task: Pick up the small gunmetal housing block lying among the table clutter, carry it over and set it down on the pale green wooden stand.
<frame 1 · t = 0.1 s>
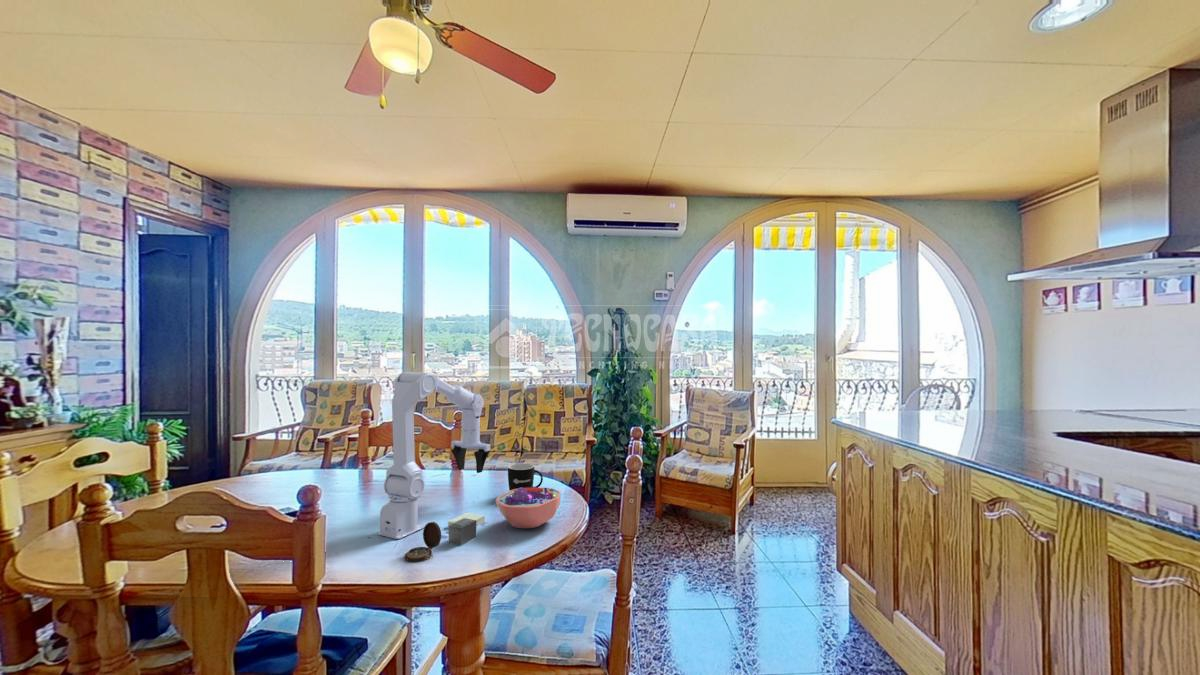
hand: (470, 470, 160), 10 cm above the table, fingers open, 7 cm apart
compass: (423, 557, 119), on the table
mug: (525, 496, 167), on the table
cell model: (529, 525, 140), on the table
housing: (462, 540, 129), on the table
stand: (466, 524, 139), on the table
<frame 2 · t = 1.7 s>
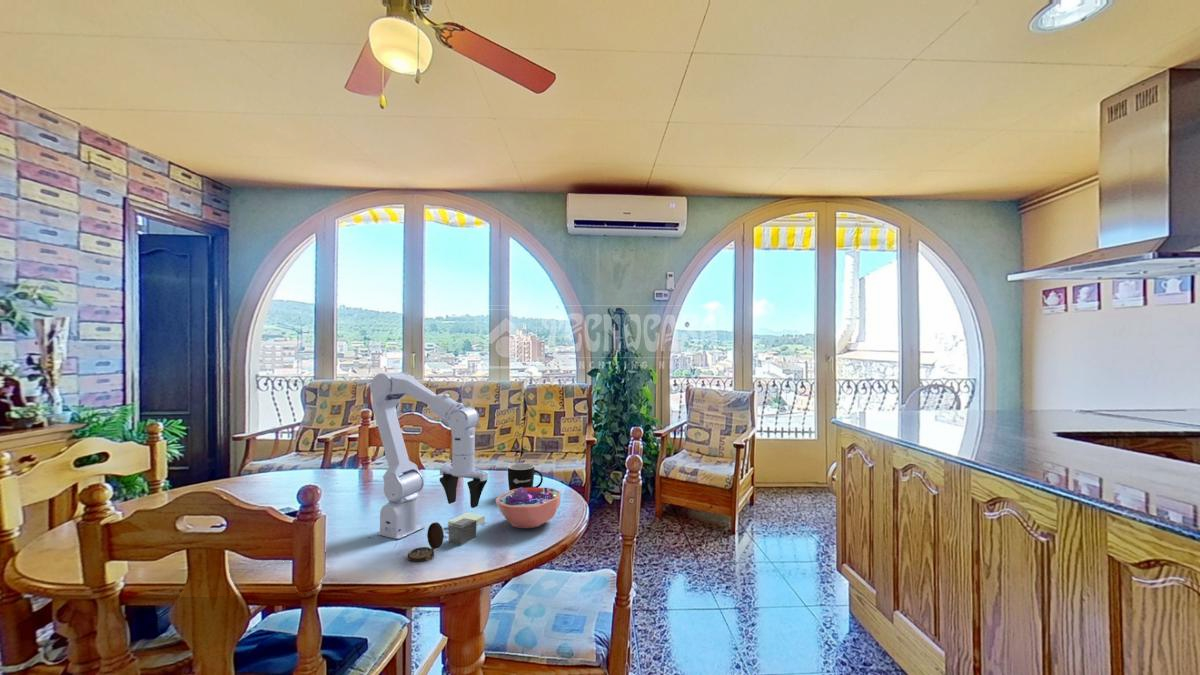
hand: (463, 504, 129), 9 cm above the table, fingers open, 7 cm apart
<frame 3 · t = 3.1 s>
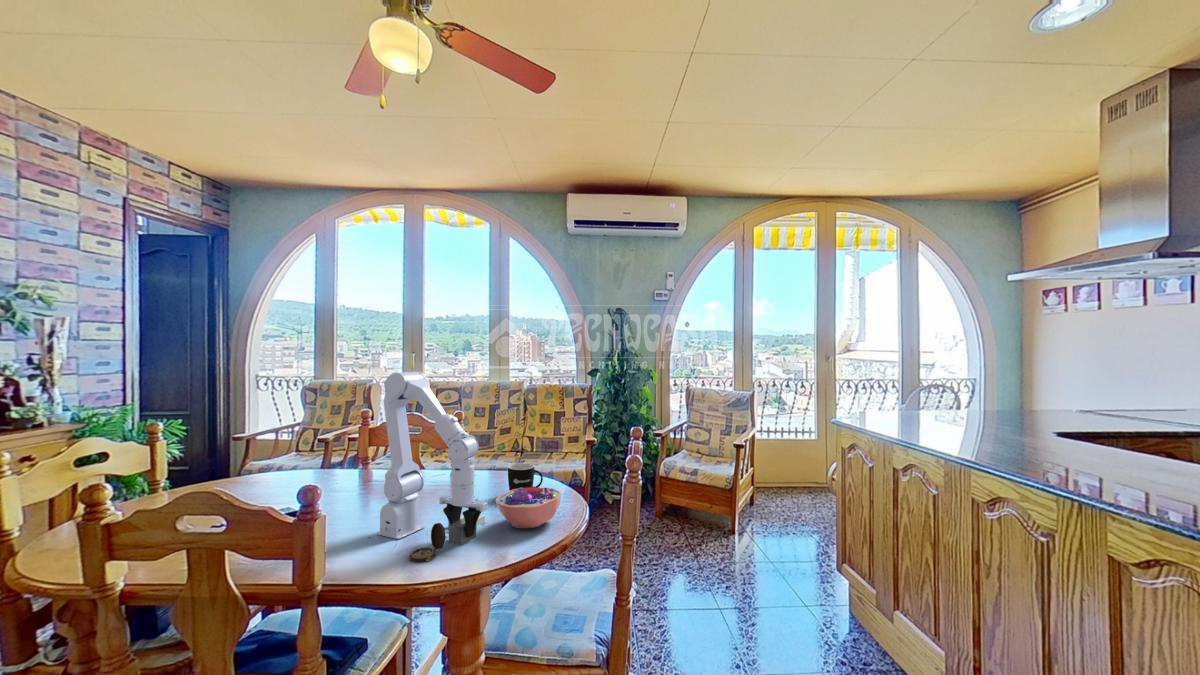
hand: (462, 534, 129), 1 cm above the table, fingers closed on housing, 4 cm apart
housing: (462, 539, 129), on the table, touching gripper
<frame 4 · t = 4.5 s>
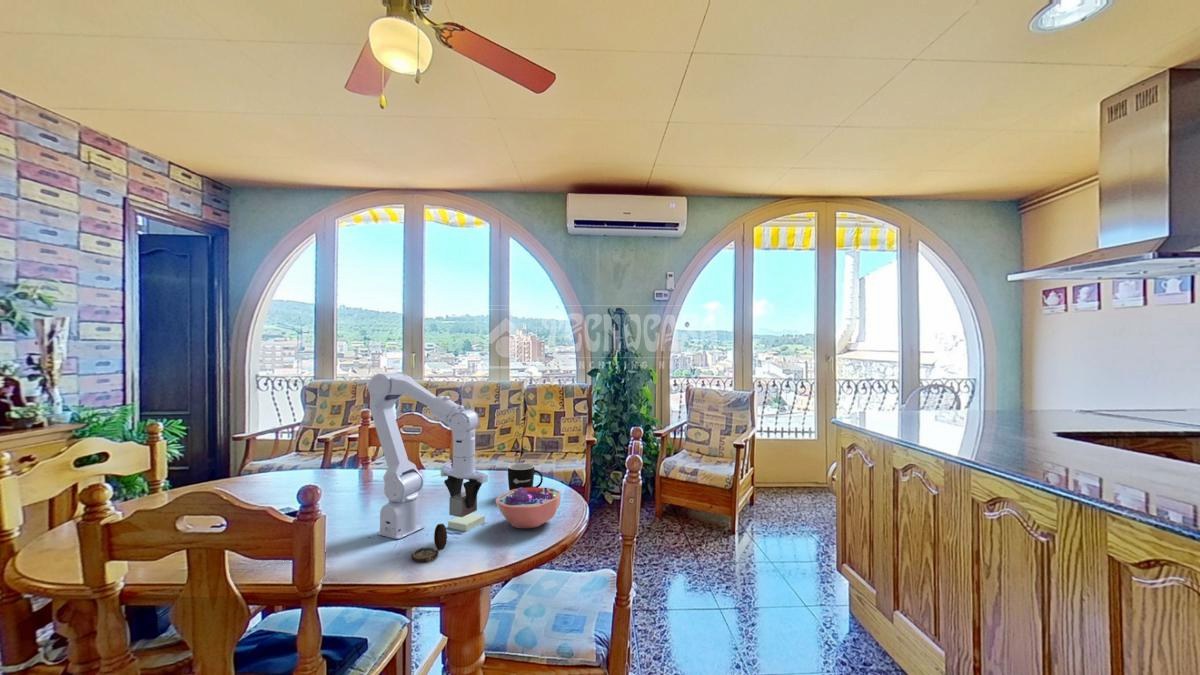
hand: (463, 506, 131), 8 cm above the table, fingers closed on housing, 4 cm apart
housing: (463, 512, 131), point 7 cm above the table, touching gripper
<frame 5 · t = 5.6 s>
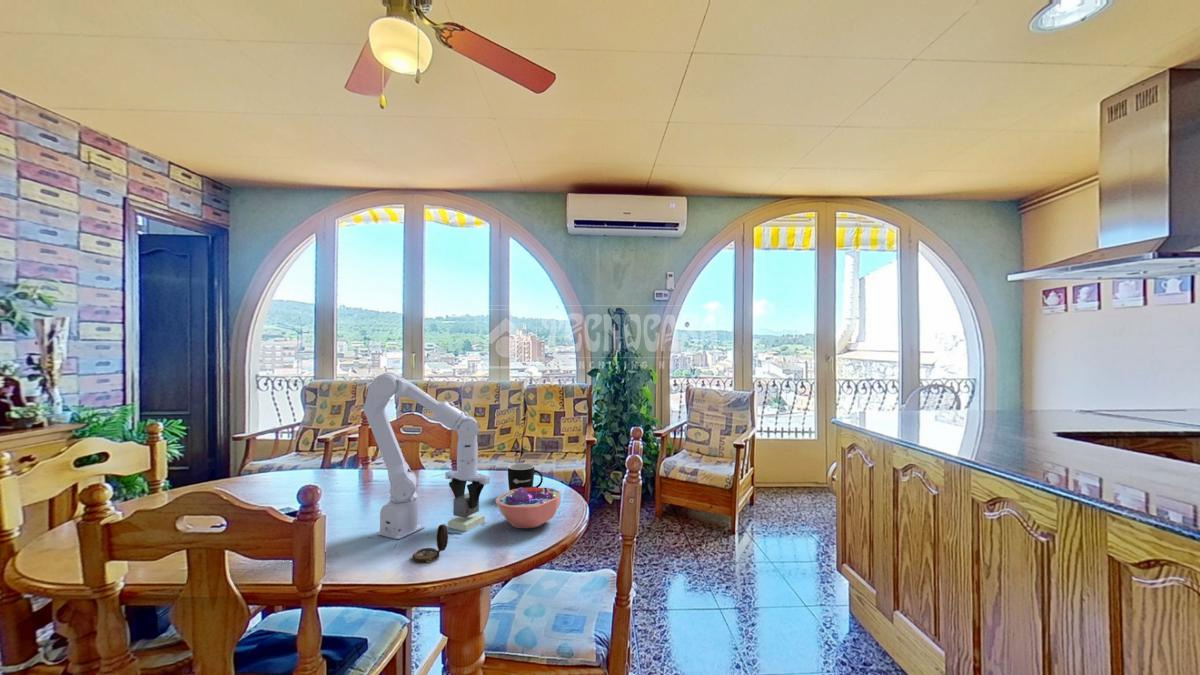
hand: (466, 506, 140), 5 cm above the table, fingers closed on housing, 4 cm apart
housing: (466, 513, 139), point 3 cm above the table, touching gripper
when the fingers open (5 cm above the table, at t = 6.1 s): housing stays where it is, resting on stand.
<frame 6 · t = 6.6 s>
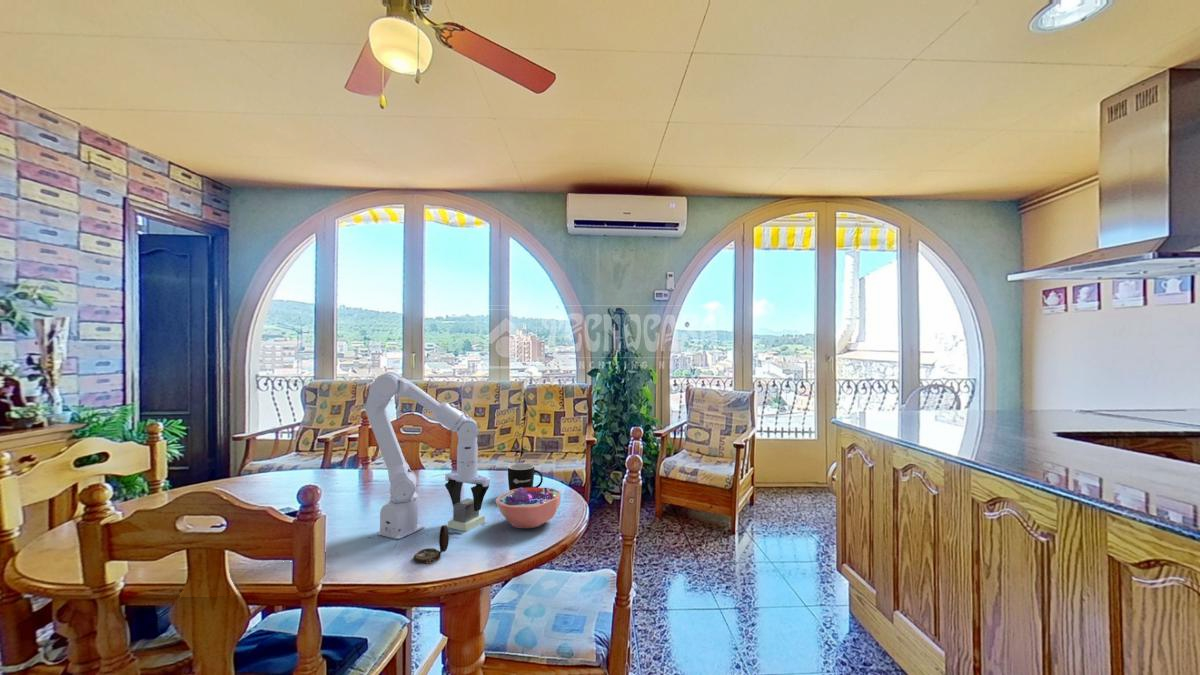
hand: (466, 508, 140), 5 cm above the table, fingers open, 7 cm apart
housing: (466, 518, 139), point 2 cm above the table, touching stand
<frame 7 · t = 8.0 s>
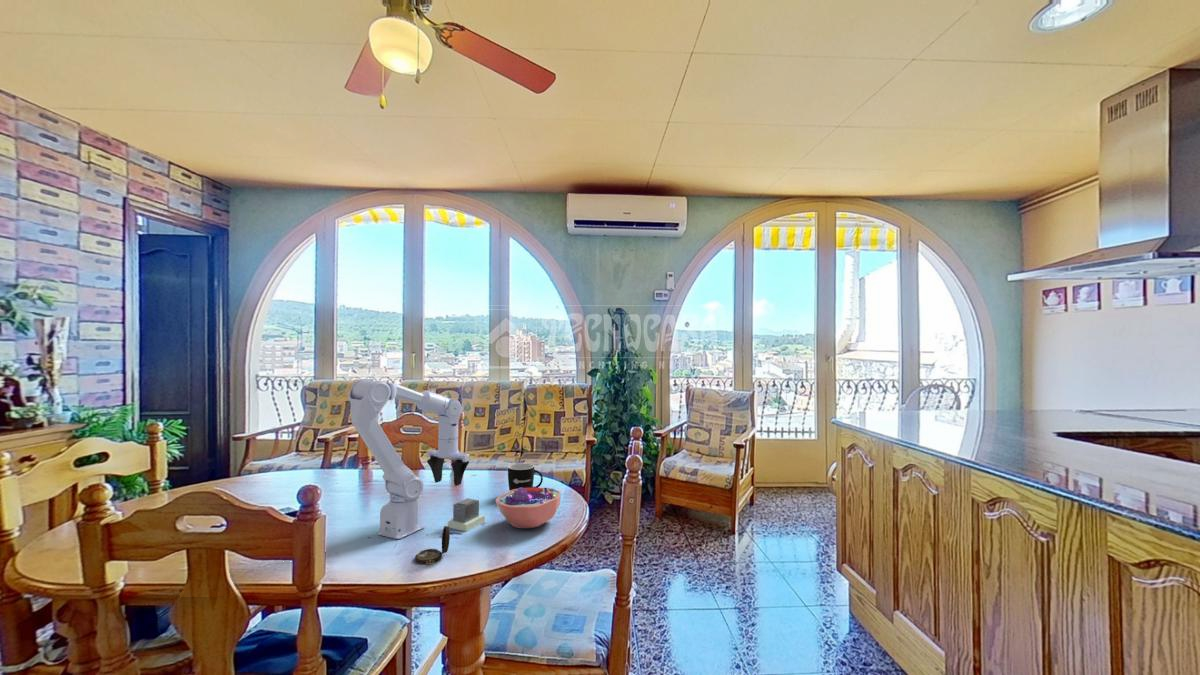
hand: (447, 483, 146), 10 cm above the table, fingers open, 7 cm apart
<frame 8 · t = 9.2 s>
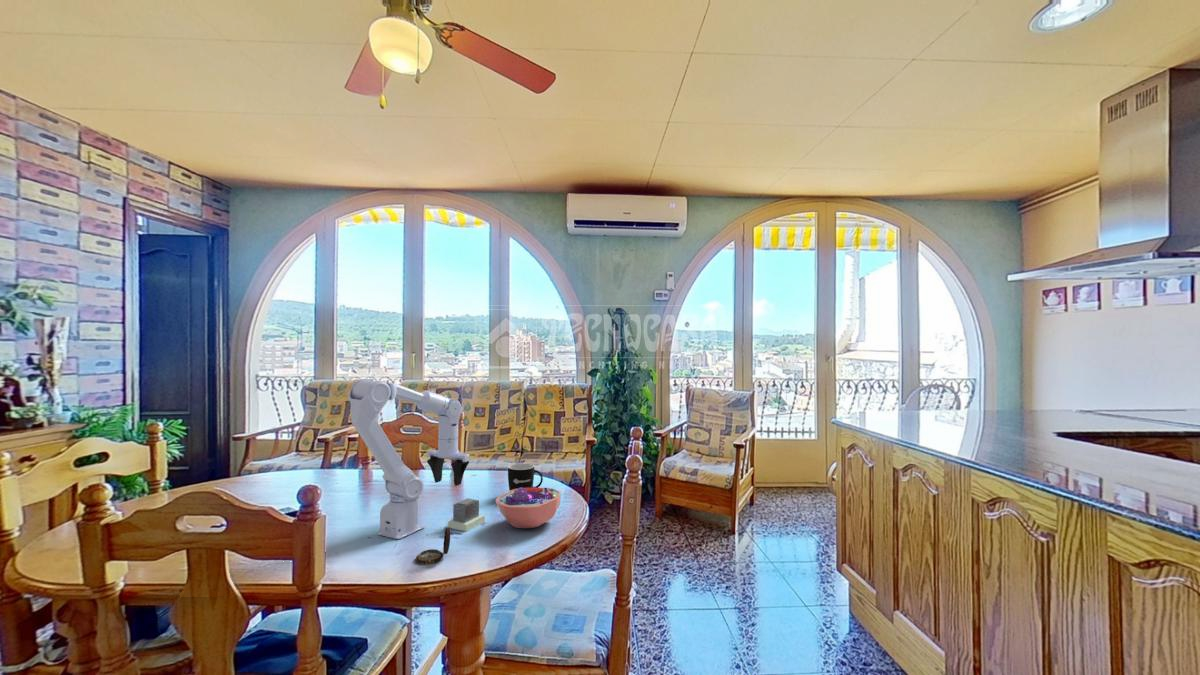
hand: (447, 483, 146), 10 cm above the table, fingers open, 7 cm apart
at the end: housing inside the target area on the stand (0.2 cm from its centre), point 1.8 cm above the stand's base; housing tilted 0°; the gripper is holding nothing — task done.
